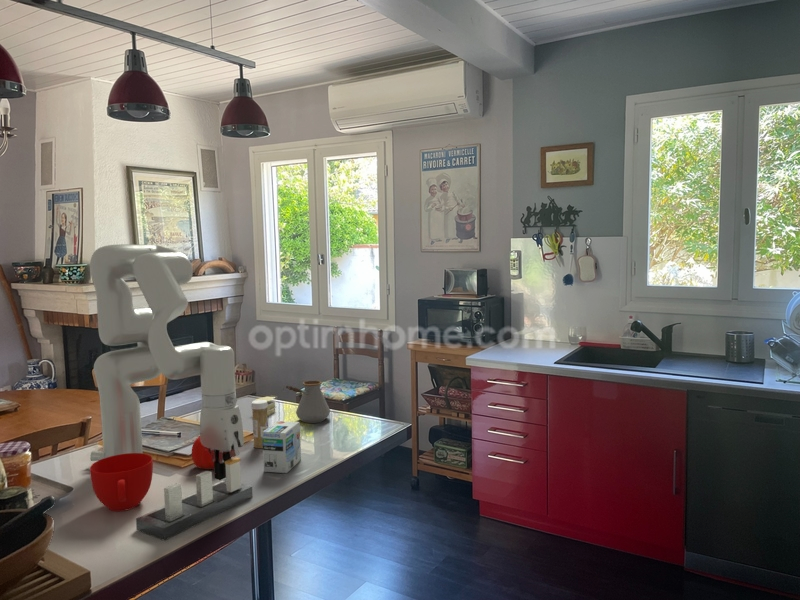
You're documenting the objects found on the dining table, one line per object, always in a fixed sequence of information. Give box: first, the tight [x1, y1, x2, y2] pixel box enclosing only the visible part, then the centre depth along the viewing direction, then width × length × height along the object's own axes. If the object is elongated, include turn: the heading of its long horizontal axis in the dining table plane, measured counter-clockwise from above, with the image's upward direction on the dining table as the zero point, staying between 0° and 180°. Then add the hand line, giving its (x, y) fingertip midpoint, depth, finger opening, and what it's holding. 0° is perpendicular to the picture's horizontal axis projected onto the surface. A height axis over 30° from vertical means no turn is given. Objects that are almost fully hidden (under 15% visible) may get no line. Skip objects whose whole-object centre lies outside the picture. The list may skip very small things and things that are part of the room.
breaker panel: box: [135, 470, 253, 541], centre depth 131 cm, size 24×9×9 cm, turn 148°
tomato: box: [191, 435, 226, 470], centre depth 160 cm, size 11×11×9 cm
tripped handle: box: [225, 456, 242, 492], centre depth 136 cm, size 3×2×7 cm, turn 148°
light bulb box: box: [262, 420, 302, 474], centre depth 159 cm, size 11×7×11 cm, turn 168°
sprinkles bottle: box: [251, 400, 269, 449], centre depth 175 cm, size 5×5×13 cm
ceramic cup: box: [89, 452, 154, 512], centre depth 134 cm, size 13×17×10 cm
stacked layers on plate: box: [253, 396, 277, 417], centre depth 211 cm, size 10×9×6 cm
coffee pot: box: [282, 380, 331, 424], centre depth 197 cm, size 21×12×15 cm, turn 157°
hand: (222, 477), depth 138 cm, fingers closed
